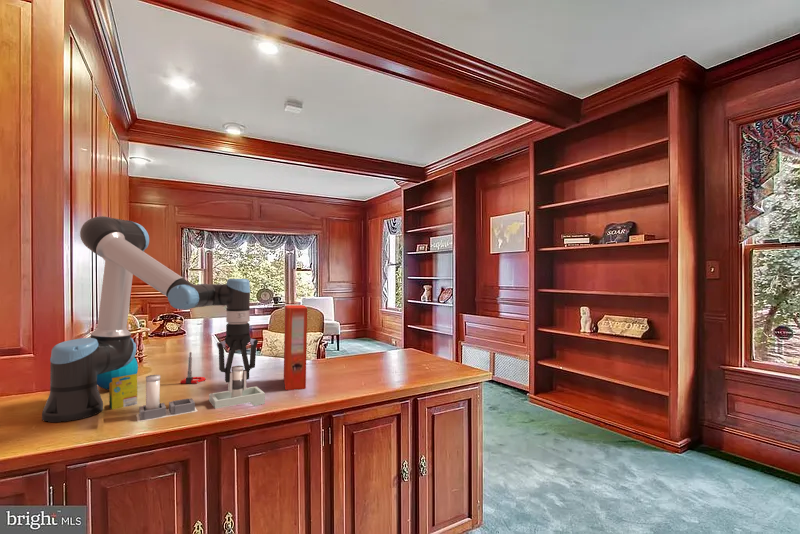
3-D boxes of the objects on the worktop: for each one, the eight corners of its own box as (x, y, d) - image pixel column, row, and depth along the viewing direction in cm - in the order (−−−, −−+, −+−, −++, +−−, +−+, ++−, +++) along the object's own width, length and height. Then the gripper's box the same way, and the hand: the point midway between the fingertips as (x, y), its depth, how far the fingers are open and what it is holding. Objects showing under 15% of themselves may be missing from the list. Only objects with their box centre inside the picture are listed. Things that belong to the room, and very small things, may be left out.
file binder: (302, 378, 173) (303, 304, 173) (306, 388, 156) (307, 307, 157) (283, 379, 170) (284, 305, 171) (285, 390, 154) (286, 308, 154)
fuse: (145, 418, 119) (146, 378, 119) (144, 414, 122) (145, 375, 122) (160, 415, 121) (160, 376, 122) (159, 412, 124) (159, 374, 125)
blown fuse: (229, 401, 137) (230, 366, 138) (241, 399, 140) (241, 365, 140) (232, 404, 134) (233, 368, 135) (244, 401, 136) (244, 367, 137)
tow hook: (189, 379, 172) (177, 384, 162) (190, 349, 172) (179, 352, 163) (208, 379, 172) (198, 384, 163) (210, 349, 173) (199, 352, 163)
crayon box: (134, 406, 134) (135, 372, 135) (137, 408, 132) (138, 373, 133) (108, 412, 129) (109, 376, 129) (111, 414, 127) (112, 378, 127)
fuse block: (137, 427, 116) (137, 413, 116) (136, 419, 123) (136, 406, 123) (197, 415, 126) (198, 403, 126) (193, 409, 132) (193, 397, 132)
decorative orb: (82, 391, 152) (83, 352, 152) (125, 382, 165) (125, 346, 166) (103, 396, 145) (104, 355, 145) (145, 386, 158) (146, 349, 159)
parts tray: (215, 413, 128) (215, 401, 128) (208, 405, 136) (209, 393, 136) (264, 403, 138) (264, 392, 138) (256, 396, 146) (256, 386, 146)
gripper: (213, 325, 130) (212, 397, 129) (265, 322, 140) (265, 388, 139) (209, 323, 136) (208, 391, 135) (259, 320, 146) (258, 384, 145)
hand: (237, 390), depth 137 cm, fingers open, 4 cm apart
